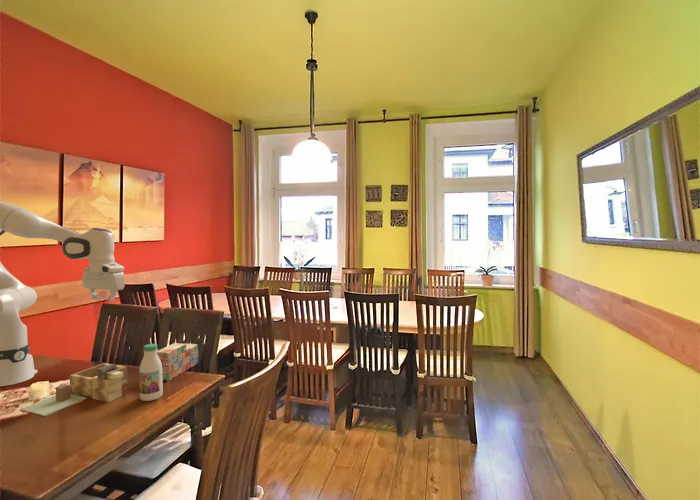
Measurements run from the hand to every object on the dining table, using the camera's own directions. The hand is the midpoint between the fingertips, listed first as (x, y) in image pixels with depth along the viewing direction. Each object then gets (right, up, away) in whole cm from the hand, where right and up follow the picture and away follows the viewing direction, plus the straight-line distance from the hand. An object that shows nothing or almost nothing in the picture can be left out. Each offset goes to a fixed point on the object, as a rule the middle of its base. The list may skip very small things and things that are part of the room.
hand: (103, 299), depth 154 cm
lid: (-4, -36, -21) cm, 41 cm away
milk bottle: (+28, -35, -14) cm, 47 cm away
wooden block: (+14, -27, -16) cm, 34 cm away
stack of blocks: (+26, -34, +11) cm, 44 cm away
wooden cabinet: (+7, -35, -9) cm, 36 cm away
